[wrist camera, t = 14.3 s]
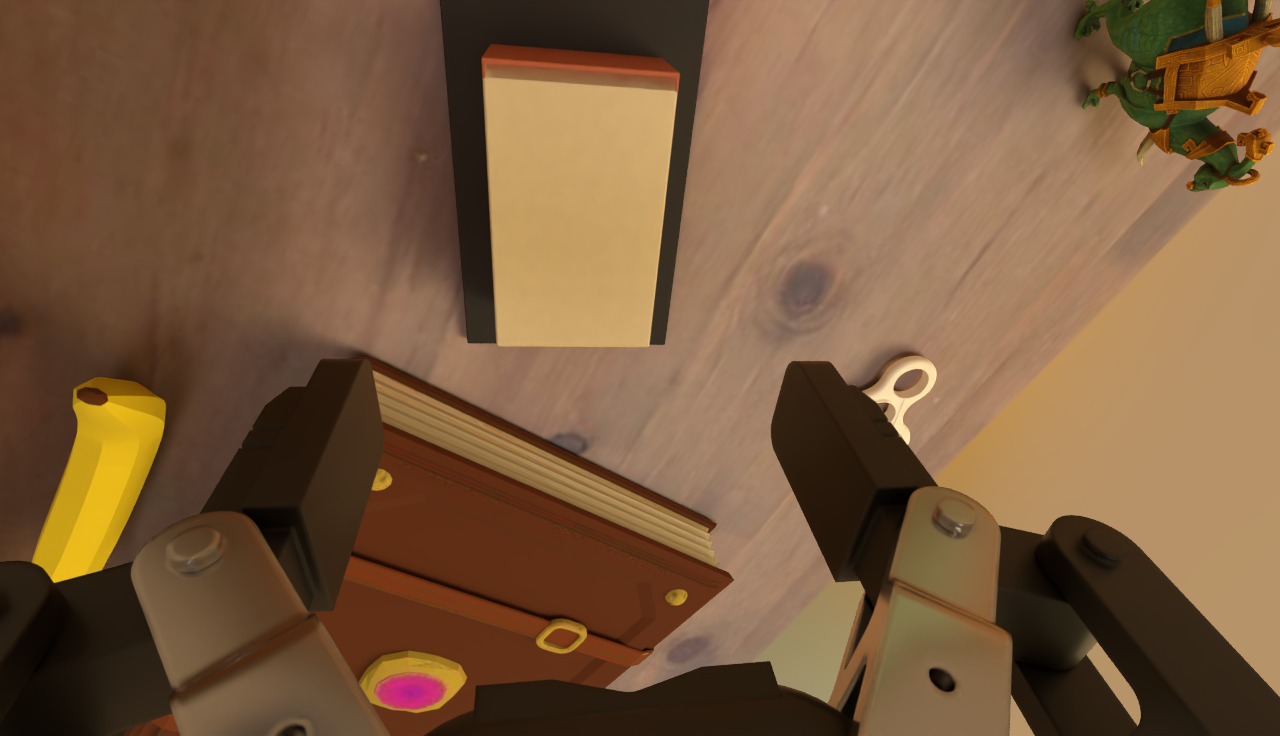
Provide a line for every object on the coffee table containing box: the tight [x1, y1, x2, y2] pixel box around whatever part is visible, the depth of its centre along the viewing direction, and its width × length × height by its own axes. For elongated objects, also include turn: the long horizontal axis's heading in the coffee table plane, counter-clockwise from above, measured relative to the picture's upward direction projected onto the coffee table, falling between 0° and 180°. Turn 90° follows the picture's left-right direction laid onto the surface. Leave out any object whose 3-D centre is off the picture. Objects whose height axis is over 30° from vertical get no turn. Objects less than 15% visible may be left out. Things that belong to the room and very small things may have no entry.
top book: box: [481, 44, 680, 347], centre depth 22 cm, size 10×6×4 cm, turn 175°
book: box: [124, 356, 734, 736], centre depth 35 cm, size 23×32×5 cm
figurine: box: [1075, 0, 1280, 192], centre depth 20 cm, size 3×12×8 cm, turn 27°
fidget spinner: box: [862, 356, 936, 445], centre depth 32 cm, size 7×6×1 cm
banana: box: [31, 377, 166, 583], centre depth 26 cm, size 3×19×6 cm, turn 144°
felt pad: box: [440, 0, 709, 345], centre depth 24 cm, size 14×9×1 cm, turn 175°
